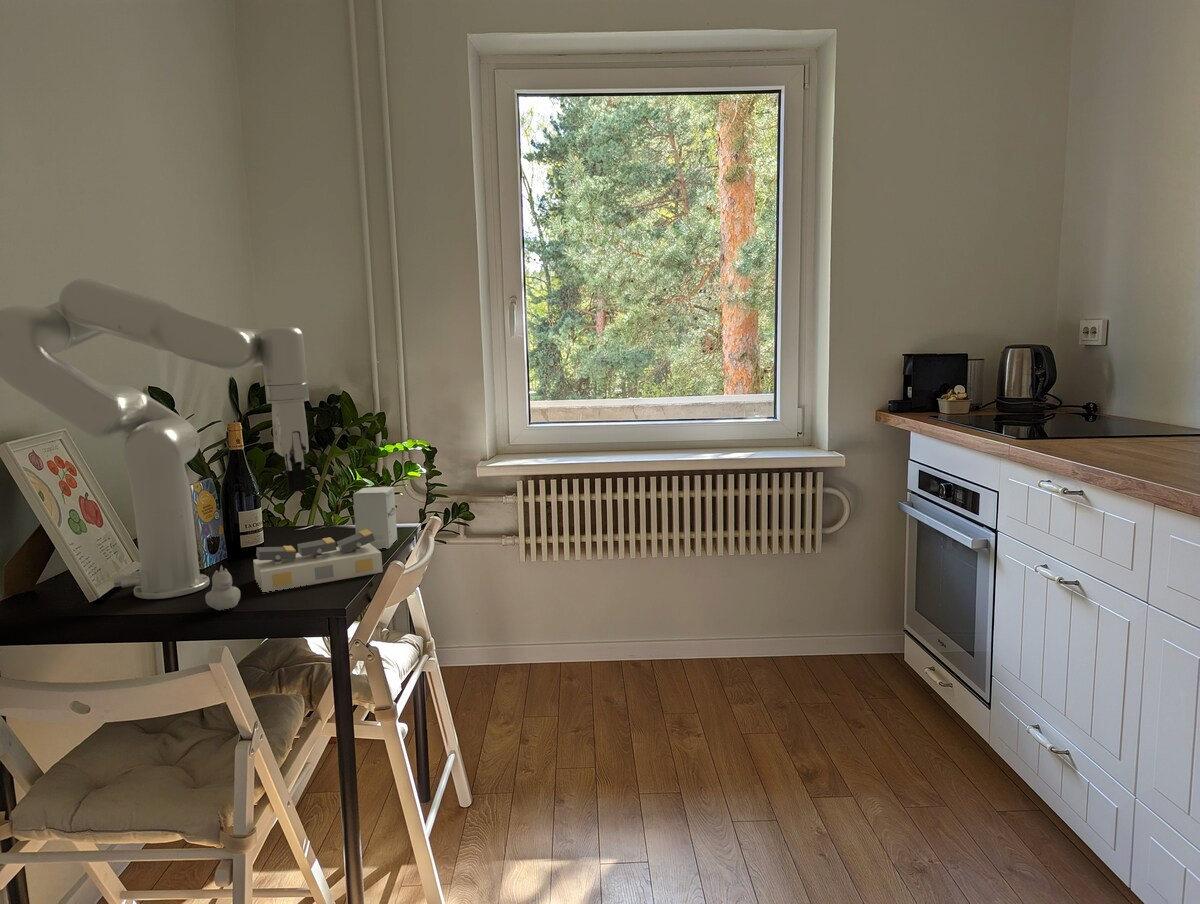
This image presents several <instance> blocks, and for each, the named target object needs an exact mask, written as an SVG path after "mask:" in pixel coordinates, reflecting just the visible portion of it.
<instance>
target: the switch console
mask: <svg viewBox="0 0 1200 904" xmlns="http://www.w3.org/2000/svg"><path fill="white" fill-rule="evenodd" d="M336 549H337V550H334V551H329V552H324V553H318V554H313V555H308V556H303V557H302V556H301V555H300V554H299V552H296V559H288V560H259V559H258V558H256V559H253V562H252V563H253V570H254V571H253V572H254V580H256V581H255V583H256V584H257V583H258V584H257V586H258V585H259V586H258V588H259V589H260V588H261V589H260V591H261V590H262V591H261V592H267V593H270V592H269V591H272V592H276V591H275V590H278V591H282V590H283V589H284V590H288V589H289V588H290V589H295V588H300V586H301V587H306V585H307V586H312V585H318V584H323V583H329V582H335V581H340V580H346V579H352V578H357V577H364V576H369V575H370V576H371V575H375V574H380V573H383V571H384V570H383V558H382V556H383V555H382V552H381V551H380V549H376V548H375V547H374V546H372V545H371V544H370V543H368V544H366V545H363V546H361V547H358V548H356V549H353V550H351V551H348V552H346V553H343V552H342V551H341V550H340V549H339V547H338V546H336ZM294 587H295V588H294Z"/></svg>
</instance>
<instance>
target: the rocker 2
mask: <svg viewBox="0 0 1200 904" xmlns="http://www.w3.org/2000/svg"><path fill="white" fill-rule="evenodd" d="M336 547H337V541H335V540H334V539H333V538H332V537H324V538H321V539H318V540H317V539H316V540H312V541H307V542H302V543H297V553H299V554H300V555H301V556H302V557H303V556H308V555H313V554H318V553H324V552H329V551H334V550H337V549H336Z"/></svg>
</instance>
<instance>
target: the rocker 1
mask: <svg viewBox="0 0 1200 904" xmlns="http://www.w3.org/2000/svg"><path fill="white" fill-rule="evenodd" d="M296 553H297V550H296V548H294V546H293V545H282V546H264V547H263V546H259V547H256V553H255V556H256V557H257V558H256V559H259V560H288V559H296Z"/></svg>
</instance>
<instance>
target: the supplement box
mask: <svg viewBox="0 0 1200 904" xmlns="http://www.w3.org/2000/svg"><path fill="white" fill-rule="evenodd" d="M352 500H353V512H354V513H353V514H354V526H355V527H354V528H355V534H357V533H359V532H360V531H362V530H365V529H367V530H369V531H370V532H372V533H373V536H374V539H375V541H373V542H370V544H371V545H372V546H374V547H375V548H376V549H378V550H383V549H382V548H386V549H385V550H388V549H390V548H391V547H392V546H393V545H394V544H395V543H396V542H397V541H398V530H397V529H398V528H397V527H398V526H397V514H396V513H397V512H396V499H395V487H394V486H378V487H377V486H376V487H375V486H374V487H362V488H360V489H359V490H357V491H356V492H354V493H352ZM396 540H397V541H396ZM395 541H396V542H395ZM394 542H395V543H394ZM393 543H394V544H393Z"/></svg>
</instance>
